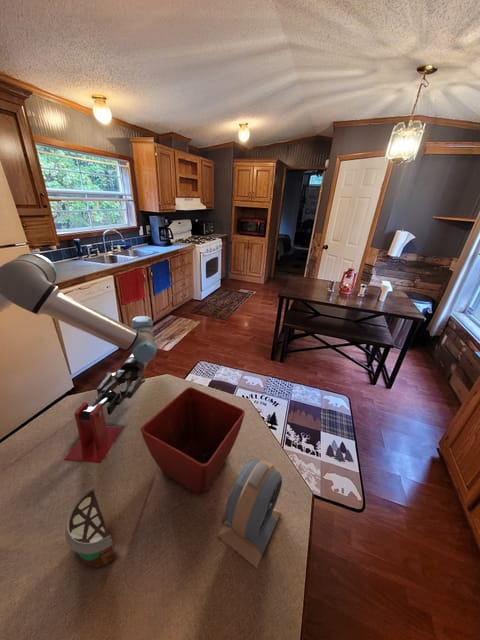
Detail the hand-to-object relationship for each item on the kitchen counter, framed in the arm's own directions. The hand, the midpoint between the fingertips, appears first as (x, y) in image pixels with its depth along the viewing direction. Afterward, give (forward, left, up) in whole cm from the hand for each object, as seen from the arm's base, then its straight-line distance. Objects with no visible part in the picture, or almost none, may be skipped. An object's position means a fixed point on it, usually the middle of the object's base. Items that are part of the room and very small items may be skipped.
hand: (101, 410), depth 74 cm
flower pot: (+31, +2, -9) cm, 32 cm away
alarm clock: (+50, -5, -9) cm, 51 cm away
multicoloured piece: (+22, -23, -9) cm, 33 cm away
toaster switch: (+2, -5, -8) cm, 10 cm away
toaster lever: (0, 0, 0) cm, 0 cm away
